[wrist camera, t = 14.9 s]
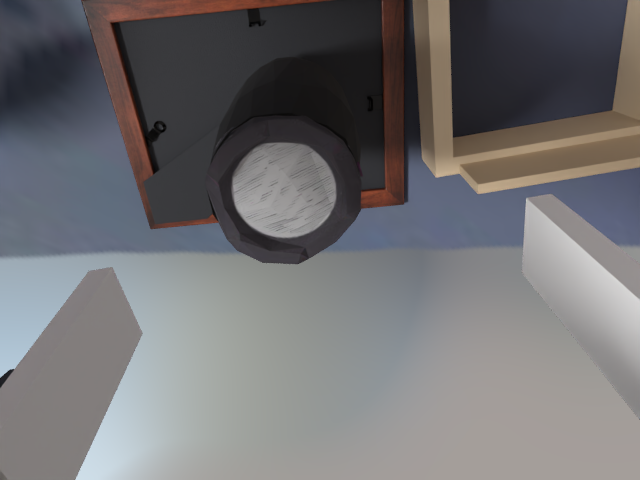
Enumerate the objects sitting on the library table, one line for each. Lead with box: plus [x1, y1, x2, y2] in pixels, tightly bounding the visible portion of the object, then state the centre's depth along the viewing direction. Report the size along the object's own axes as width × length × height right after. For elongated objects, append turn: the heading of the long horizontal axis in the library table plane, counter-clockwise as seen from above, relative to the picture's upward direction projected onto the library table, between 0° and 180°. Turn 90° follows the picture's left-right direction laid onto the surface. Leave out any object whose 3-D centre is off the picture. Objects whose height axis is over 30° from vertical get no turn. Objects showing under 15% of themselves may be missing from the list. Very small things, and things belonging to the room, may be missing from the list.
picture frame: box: [81, 0, 404, 229], centre depth 40 cm, size 20×2×25 cm
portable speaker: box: [205, 57, 363, 264], centre depth 31 cm, size 9×9×20 cm
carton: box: [412, 0, 640, 194], centre depth 34 cm, size 19×19×10 cm
